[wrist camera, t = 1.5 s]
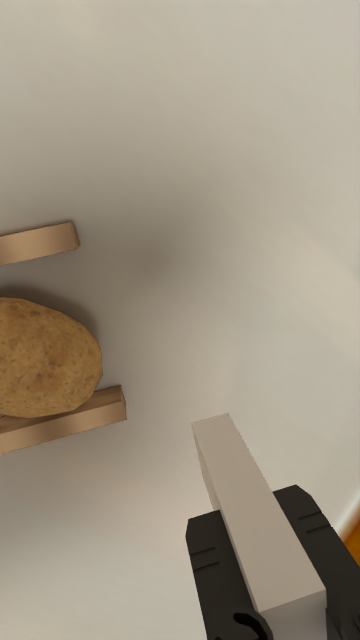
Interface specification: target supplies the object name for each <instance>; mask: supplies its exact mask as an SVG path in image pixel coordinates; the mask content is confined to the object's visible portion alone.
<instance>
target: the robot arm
mask: <svg viewBox="0 0 360 640" xmlns="http://www.w3.org/2000/svg"><path fill="white" fill-rule="evenodd" d="M191 424H192V429H193V433H194V438H195V442H196V447H197V452H198V456H199V461H200V466H201V470H202V475H203V479H204V482H205V485H206V488H207V491H208V494H209V497H210V500H211V503H212V506H213V509H214V511H213V512H210V513H207V514H203V515H200V516H197V517H194V518H191V519H188V525H187V530H186V536H185V537H186V542H187V546H188V551H189V556H190V560H191V565H192V569H193V574H194V579H195V583H196V588H197V592H198V597H199V602H200V606H201V611H202V615H203V620H204V624H205V629H206V634H207V640H360V567H359V565H358V564H357V563H356V561H355V560H354V558H353V557H352V555H351V554H350V552H349V551H348V549H347V548H346V546H345V545H344V543H343V542H342V541H341V539H340V538H339V536H338V535H337V533H336V532H335V530H334V529H333V527H331V525H330V523H329V521H328V520H327V518H326V517H325V516H324V514H322V512H321V510H320V508H319V507H318V505H317V504H316V502H315V501H314V499H313V498H312V496H311V495H309V494H308V493H307V492H305V491H304V490H303V489H301V488H300V487H299V486H297V485H293V486H289V487H286V488H283V489H280V490H277V491H273V492H272V491H271V489H270V487H269V485H268V484H267V482H266V480H265V478H264V476H263V475H262V473H261V471H260V469H259V467H258V466H257V464H256V462H255V460H254V458H253V457H252V455H251V453H250V451H249V449H248V448H247V446H246V444H245V442H244V440H243V439H242V437H241V435H240V433H239V431H238V430H237V428H236V426H235V424H234V422H233V420H232V419H231V417H230V415H229V413H226V414H223V415H219V416H215V417H212V418H208V419H205V420H201V421H198V422H194V423H191Z"/></svg>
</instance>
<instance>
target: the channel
mask: <svg viewBox="0 0 360 640" xmlns="http://www.w3.org/2000/svg"><path fill="white" fill-rule="evenodd" d="M79 246H80V244H79V240H78V237H77V233H76V230H75V226H74V223H73V221H72V222H67V223H62V224H57V225H52V226H47V227H43V228H38V229H33V230H28V231H23V232H18V233H14V234H9V235H4V236H0V266H2V265H6V264H11V263H16V262H20V261H25V260H29V259H34V258H39V257H43V256H48V255H53V254H57V253H62V252H66V251H71V250H76V249H77V248H78V247H79ZM126 419H127V416H126V402H125V398H124V395H123V392H122V388H121V385H120V386H116V387H112V388H108V389H105V390H101V391H97V392H93V394H92V396H91V397H90V398H89V399H87V400H86V401H85V402H84V403H82V404H81V405H80V406H79V407H77V408H76V409H75V410H73V411H68V412H63V413H58V414H54V415H47V416H41V417H34V418H24V417H14V416H3V417H0V454H3V453H7V452H11V451H14V450H18V449H22V448H25V447H29V446H32V445H36V444H40V443H43V442H47V441H50V440H54V439H58V438H61V437H65V436H68V435H72V434H76V433H79V432H83V431H86V430H90V429H94V428H97V427H101V426H105V425H108V424H112V423H115V422H119V421H123V420H126Z"/></svg>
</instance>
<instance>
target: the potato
mask: <svg viewBox="0 0 360 640" xmlns="http://www.w3.org/2000/svg"><path fill="white" fill-rule="evenodd" d="M102 375H103V370H102V359H101V349H100V346H99V343H98V341H97V340H96V339H95V338H94V337H93V336H92V335H91V333H90V332H89V331H88V330H87V329H86V328H85V327H84V325H82V324H80V323H79V322H77V321H75V320H73V319H72V318H70V317H68V316H66V315H65V314H63V313H61V312H59V311H56V310H53V309H51V308H48V307H45V306H43V305H39V304H36V303H33V302H30V301H28V300H25V299H21V298H3V297H0V414H1V415H6V416H14V417H24V418H34V417H41V416H47V415H54V414H58V413H63V412H68V411H73V410H75V409H76V408H77V407H79V406H80V405H81V404H82V403H84V402H85V401H86V400H87V399H89V398H90V397H91V396H92V394H93V392H94V390H95V389H96V387H97V385H98V383H99V381H100V379H101V377H102Z"/></svg>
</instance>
